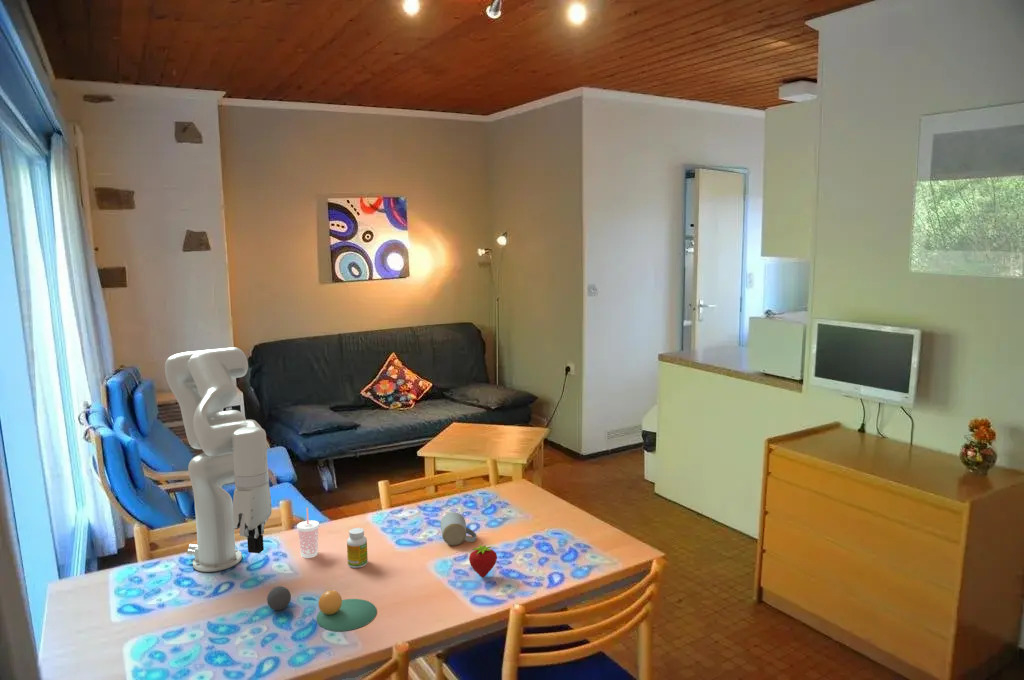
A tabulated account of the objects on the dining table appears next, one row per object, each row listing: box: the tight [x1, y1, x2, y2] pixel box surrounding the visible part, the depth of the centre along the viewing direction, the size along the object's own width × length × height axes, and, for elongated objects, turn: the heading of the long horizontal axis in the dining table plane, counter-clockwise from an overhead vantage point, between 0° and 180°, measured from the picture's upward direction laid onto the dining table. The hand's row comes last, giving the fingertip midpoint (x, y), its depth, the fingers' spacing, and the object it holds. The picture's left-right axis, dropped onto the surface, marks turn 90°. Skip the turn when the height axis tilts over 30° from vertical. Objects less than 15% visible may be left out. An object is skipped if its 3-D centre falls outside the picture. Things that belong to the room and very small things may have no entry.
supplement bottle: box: [346, 527, 368, 569], centre depth 188 cm, size 5×5×10 cm
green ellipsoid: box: [316, 598, 378, 632], centre depth 163 cm, size 14×14×1 cm
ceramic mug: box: [439, 511, 478, 546], centre depth 203 cm, size 11×8×8 cm
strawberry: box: [468, 542, 498, 578], centre depth 181 cm, size 6×8×10 cm
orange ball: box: [318, 589, 343, 615], centre depth 163 cm, size 6×6×6 cm
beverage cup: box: [296, 507, 320, 559], centre depth 194 cm, size 6×6×14 cm
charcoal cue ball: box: [266, 585, 292, 611], centre depth 165 cm, size 6×6×6 cm
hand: (255, 551), depth 165 cm, fingers closed
